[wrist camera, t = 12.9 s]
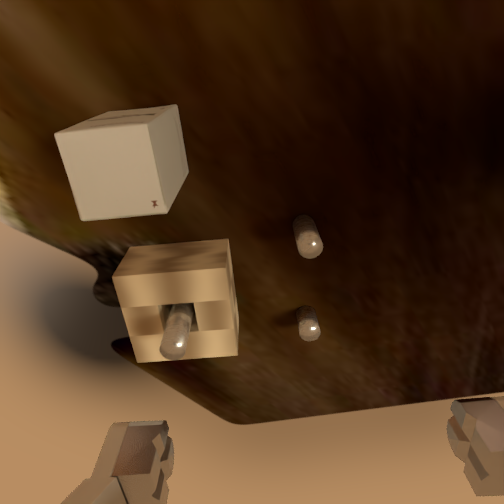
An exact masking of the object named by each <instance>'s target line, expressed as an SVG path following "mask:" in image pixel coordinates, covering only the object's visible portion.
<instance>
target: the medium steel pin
mask: <svg viewBox="0 0 504 504" xmlns="http://www.w3.org/2000/svg"><path fill="white" fill-rule="evenodd" d="M292 227H293V231H294V235H295V239H296V243H297V247H298V251H299V253H300V255H301V256H303V257H305V258H309V259H310V258H315V257H317V256H318V255H320V254H321V252H322V250H323V243H322V241H321V238H320V236H319V233H318V230H317V228H316V225H315V223H314V220H313V219H312V217H310V216H309V215H305V214H303V215H299V216H297V217H296V218H295V219H294V221H293V223H292Z"/></svg>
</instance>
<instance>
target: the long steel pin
mask: <svg viewBox="0 0 504 504" xmlns="http://www.w3.org/2000/svg"><path fill="white" fill-rule="evenodd" d="M193 313H194V303H193V302H192V303H179V304H172V307H171V310H170V314H169V317H168V321H167V324H166V328H165V331H164V334H163V338H162V341H161V345H160V348H159V351H160V353H161V355H162V356H163V357H164V358H166V359H169V360H178V359H181V358H182V357H183V356H184V355H185V352H186V347H187V342H188V337H189V332H190V327H191V322H192V318H193Z"/></svg>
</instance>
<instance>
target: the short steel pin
mask: <svg viewBox="0 0 504 504" xmlns="http://www.w3.org/2000/svg"><path fill="white" fill-rule="evenodd" d="M296 317H297V323H298V328H299V334H300V337H301V338H302V339H303V340H305V341H313V340H316V339H317V338H318V337H319V336H320V328H319V324H318V320H317V316H316V312H315V310H314V308H312V307H311V306H302V307H300V308H299V309H298V310H297V312H296Z"/></svg>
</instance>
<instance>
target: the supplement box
mask: <svg viewBox="0 0 504 504" xmlns="http://www.w3.org/2000/svg"><path fill="white" fill-rule="evenodd" d="M54 136H55V139H56V142H57V145H58V148H59V151H60V154H61V157H62V161H63V164H64V167H65V170H66V173H67V176H68V179H69V182H70V186H71V189H72V193H73V196H74V199H75V203H76V206H77V209H78V213H79V216H80V219H81V220H82V221H92V220H102V219H112V218H126V217H133V216H144V215H154V214H167V213H168V211H169V209H170V207H171V205H172V204H173V202H174V200H175V198H176V196H177V194H178V192H179V190H180V188H181V186H182V184H183V182H184V180H185V178H186V177H187V175H188V173H189V170H188V164H187V158H186V153H185V147H184V141H183V135H182V129H181V123H180V117H179V112H178V106H177V105H176V104H174V105H168V106H161V107H153V108H142V109H132V110H121V111H108V112H106V113H103V114H101V115H98V116H96V117H93V118H91V119H88V120H86V121H83V122H81V123H78V124H76V125H74V126H72V127H69V128H66V129H64V130H62V131H59V132H57V133H54Z"/></svg>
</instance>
